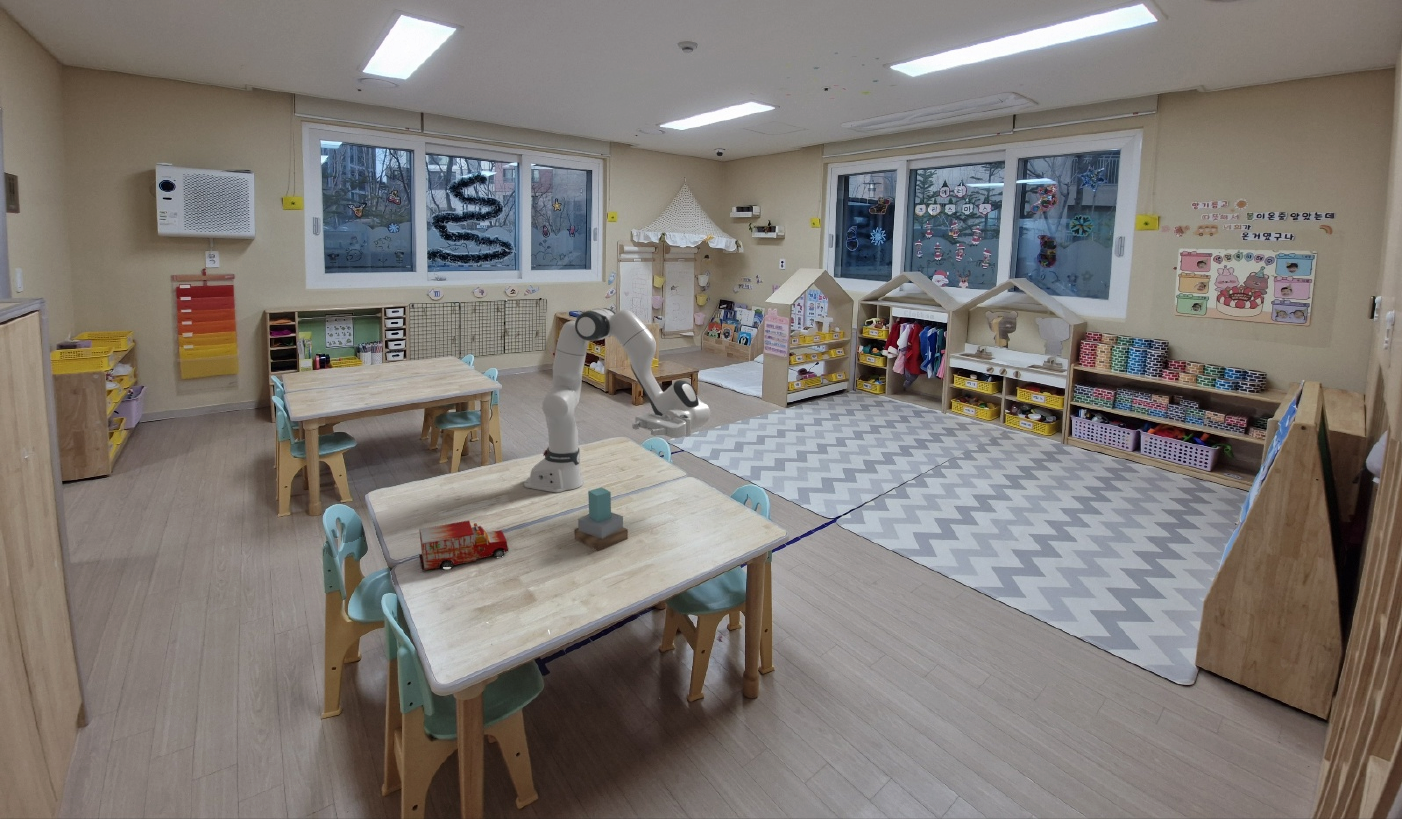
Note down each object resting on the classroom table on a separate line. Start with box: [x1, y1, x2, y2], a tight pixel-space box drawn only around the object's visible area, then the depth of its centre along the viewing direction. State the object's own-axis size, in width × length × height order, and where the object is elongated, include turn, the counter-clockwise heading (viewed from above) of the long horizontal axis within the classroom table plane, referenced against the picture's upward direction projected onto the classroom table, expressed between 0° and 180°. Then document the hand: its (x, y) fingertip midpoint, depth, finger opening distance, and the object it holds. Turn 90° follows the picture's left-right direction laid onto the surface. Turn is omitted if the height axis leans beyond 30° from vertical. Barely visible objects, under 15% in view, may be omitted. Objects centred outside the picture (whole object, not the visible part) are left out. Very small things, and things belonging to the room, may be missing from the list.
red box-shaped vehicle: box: [419, 520, 509, 572], centre depth 199 cm, size 11×25×10 cm, turn 116°
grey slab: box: [577, 511, 624, 539], centre depth 212 cm, size 10×10×4 cm
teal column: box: [587, 486, 612, 522], centre depth 210 cm, size 5×5×9 cm
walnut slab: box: [573, 526, 629, 552], centre depth 213 cm, size 12×12×4 cm
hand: (642, 429), depth 220 cm, fingers open, 8 cm apart
